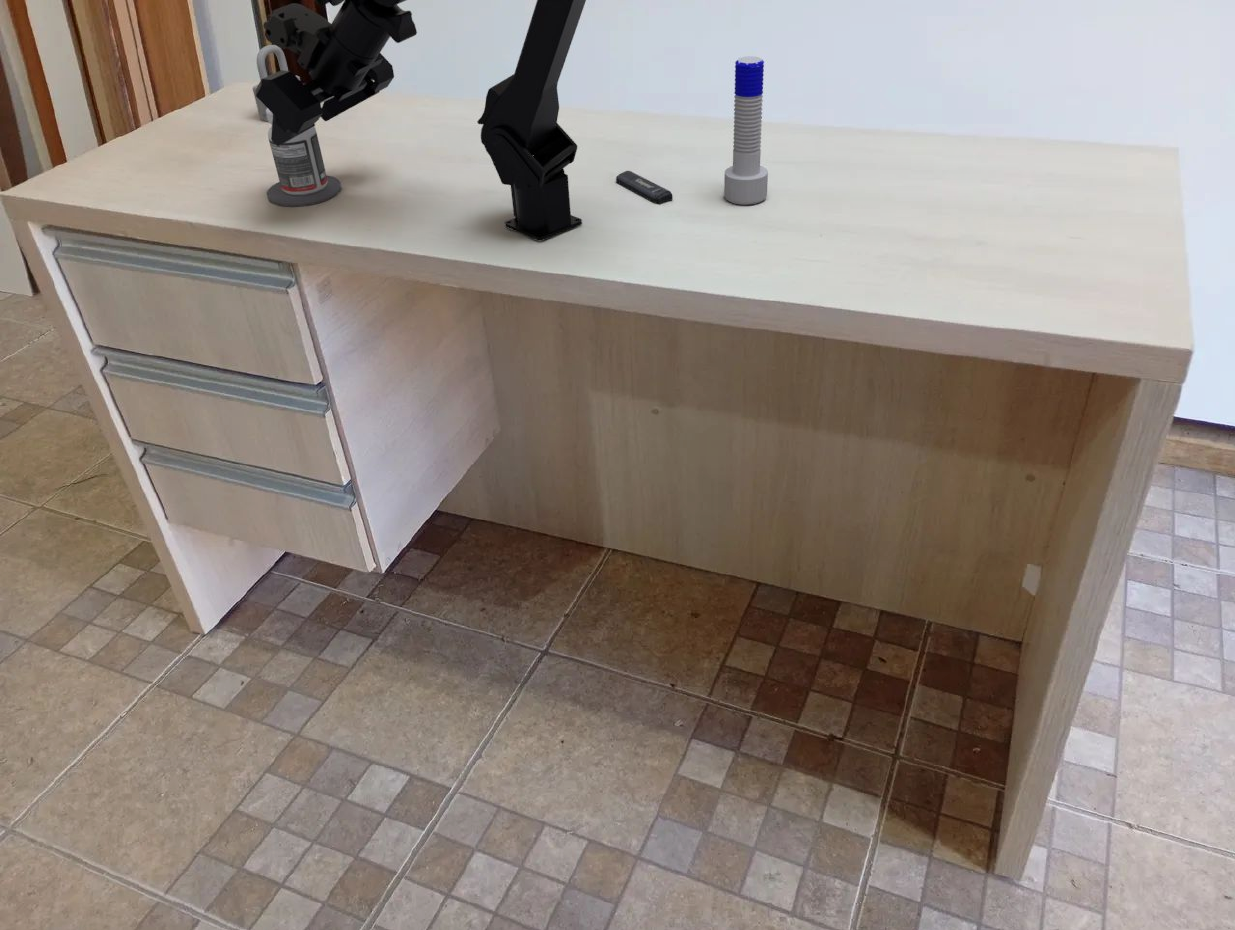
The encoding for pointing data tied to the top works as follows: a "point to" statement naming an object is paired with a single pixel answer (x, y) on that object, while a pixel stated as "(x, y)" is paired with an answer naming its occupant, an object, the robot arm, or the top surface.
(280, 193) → the coaster
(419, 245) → the top surface
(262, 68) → the padlock
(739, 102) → the bolt
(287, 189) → the pill bottle
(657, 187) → the usb stick
